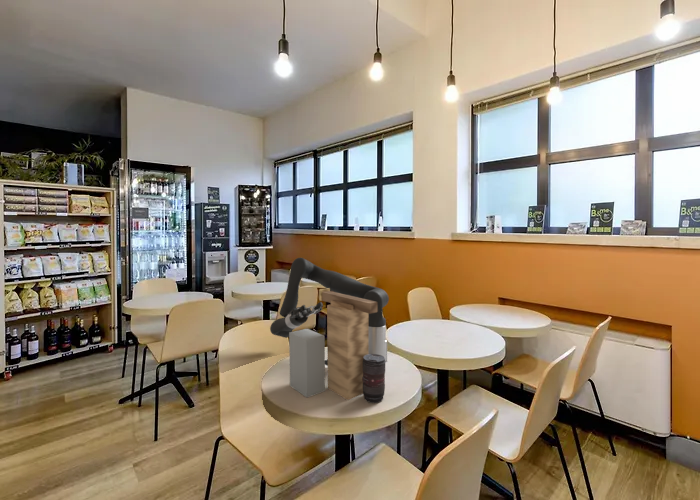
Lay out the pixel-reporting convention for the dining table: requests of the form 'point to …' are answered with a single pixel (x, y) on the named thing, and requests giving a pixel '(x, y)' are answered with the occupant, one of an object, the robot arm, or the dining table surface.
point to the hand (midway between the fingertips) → (313, 305)
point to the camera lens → (373, 377)
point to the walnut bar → (348, 300)
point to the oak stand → (346, 348)
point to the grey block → (307, 362)
